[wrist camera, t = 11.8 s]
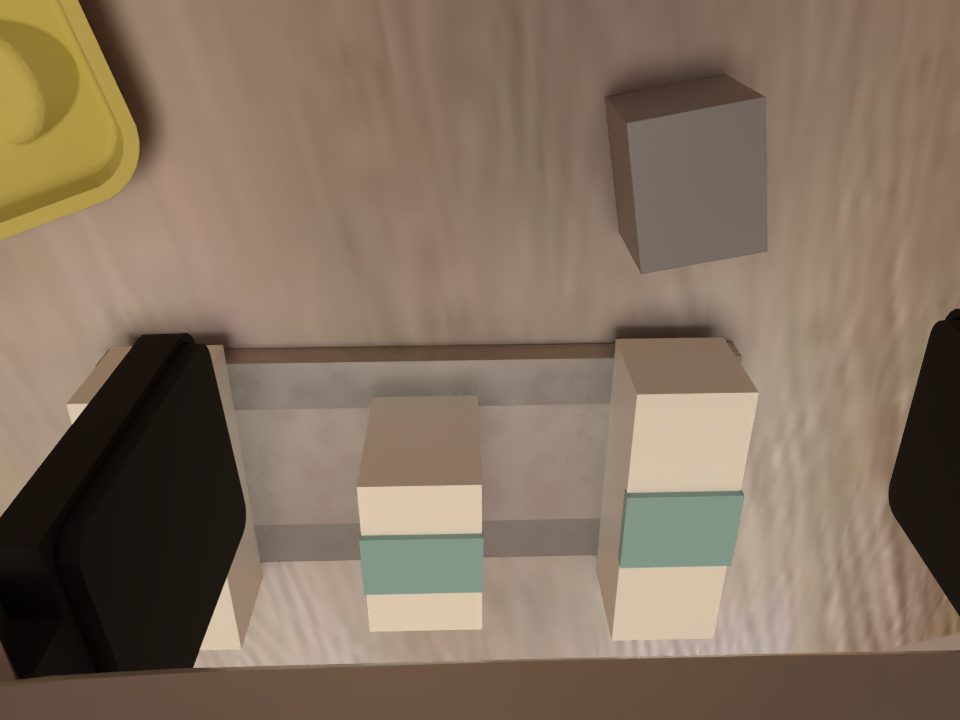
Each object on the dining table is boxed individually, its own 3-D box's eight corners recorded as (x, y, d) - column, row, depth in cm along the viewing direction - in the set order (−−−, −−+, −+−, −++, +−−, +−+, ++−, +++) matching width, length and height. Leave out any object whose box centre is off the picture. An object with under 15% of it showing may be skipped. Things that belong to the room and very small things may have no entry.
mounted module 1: (224, 344, 37) (190, 406, 32) (263, 576, 44) (240, 655, 39) (111, 346, 37) (61, 408, 32) (168, 578, 44) (133, 657, 39)
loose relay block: (724, 73, 34) (764, 97, 29) (729, 211, 36) (767, 251, 32) (604, 96, 34) (626, 123, 30) (618, 231, 37) (640, 273, 32)
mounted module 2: (724, 337, 38) (763, 397, 33) (688, 567, 44) (716, 643, 40) (614, 338, 38) (637, 398, 33) (595, 569, 44) (611, 646, 39)
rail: (731, 341, 39) (741, 355, 38) (700, 534, 45) (708, 552, 44) (107, 350, 39) (95, 366, 37) (155, 545, 44) (146, 564, 43)
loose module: (478, 395, 39) (483, 489, 32) (479, 526, 43) (483, 634, 36) (371, 397, 39) (354, 491, 32) (381, 528, 42) (368, 636, 36)
